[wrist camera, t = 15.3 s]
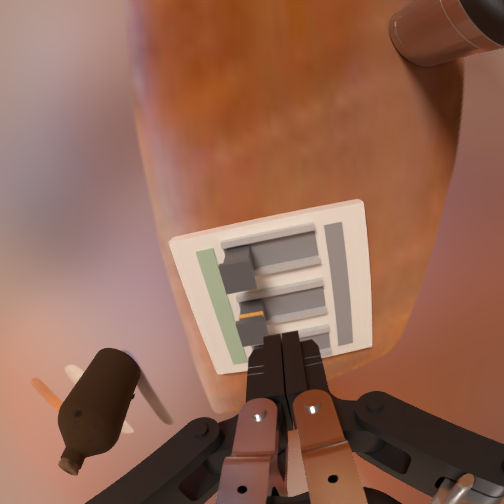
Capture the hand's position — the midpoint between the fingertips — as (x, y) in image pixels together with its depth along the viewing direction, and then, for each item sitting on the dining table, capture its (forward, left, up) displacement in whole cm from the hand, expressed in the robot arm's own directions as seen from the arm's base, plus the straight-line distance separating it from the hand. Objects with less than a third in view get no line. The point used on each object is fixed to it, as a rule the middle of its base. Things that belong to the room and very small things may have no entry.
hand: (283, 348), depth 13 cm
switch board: (+1, +14, -29) cm, 32 cm away
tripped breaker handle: (+5, +14, -27) cm, 30 cm away
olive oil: (+34, +24, -29) cm, 51 cm away
